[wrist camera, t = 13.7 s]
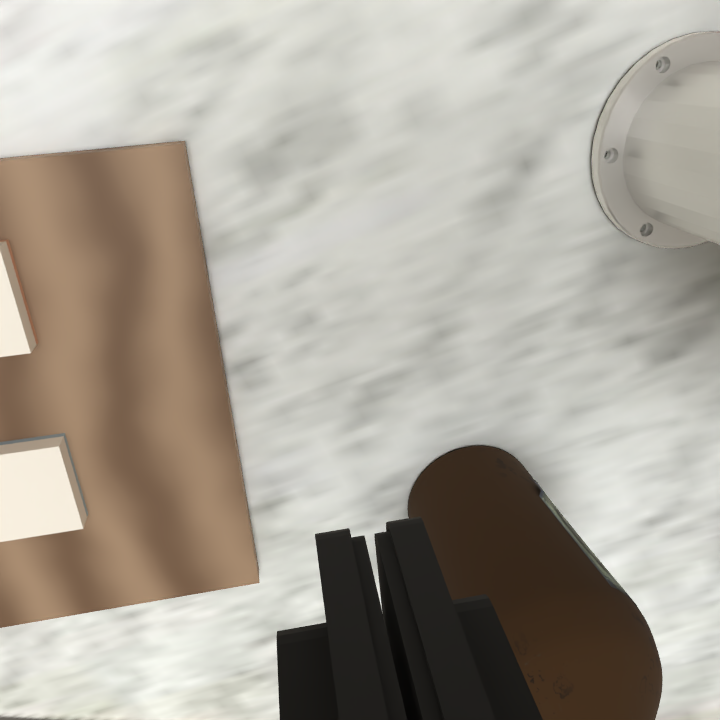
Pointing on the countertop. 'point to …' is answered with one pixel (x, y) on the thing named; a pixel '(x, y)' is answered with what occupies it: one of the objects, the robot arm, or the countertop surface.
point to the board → (121, 384)
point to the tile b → (39, 488)
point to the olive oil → (539, 587)
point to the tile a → (13, 309)
